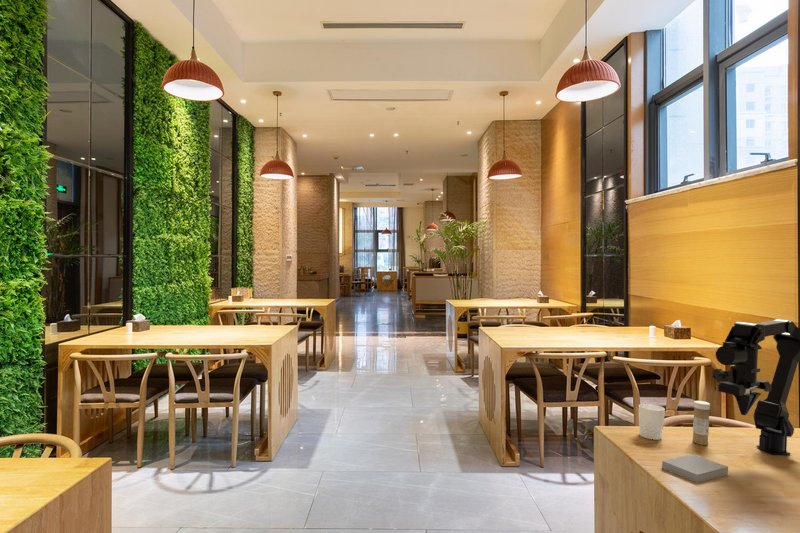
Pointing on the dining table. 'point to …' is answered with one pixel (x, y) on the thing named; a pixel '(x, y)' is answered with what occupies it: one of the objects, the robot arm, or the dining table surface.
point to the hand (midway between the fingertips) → (743, 414)
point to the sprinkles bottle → (701, 422)
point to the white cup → (651, 421)
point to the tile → (695, 468)
